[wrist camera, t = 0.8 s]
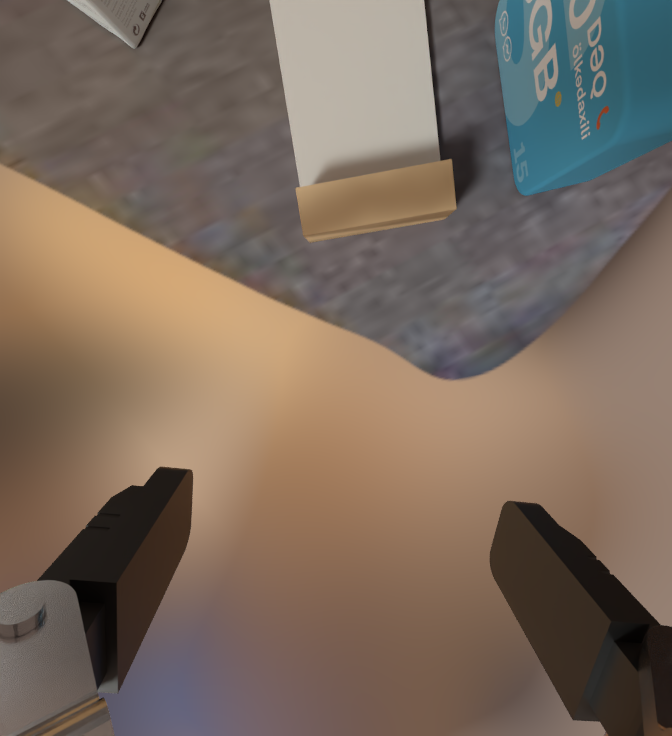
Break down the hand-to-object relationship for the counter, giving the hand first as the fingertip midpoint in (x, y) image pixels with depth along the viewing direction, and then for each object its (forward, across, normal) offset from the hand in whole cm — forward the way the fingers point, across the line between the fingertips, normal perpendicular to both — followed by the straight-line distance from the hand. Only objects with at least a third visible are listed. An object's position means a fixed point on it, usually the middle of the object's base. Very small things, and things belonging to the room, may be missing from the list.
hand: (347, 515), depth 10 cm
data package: (+22, -12, -19) cm, 31 cm away
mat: (+22, 0, -18) cm, 29 cm away
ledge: (+22, -2, -10) cm, 24 cm away
